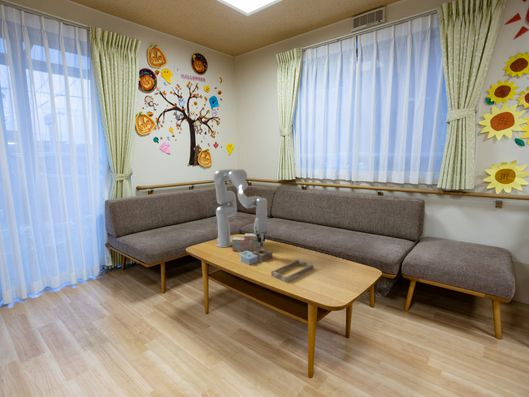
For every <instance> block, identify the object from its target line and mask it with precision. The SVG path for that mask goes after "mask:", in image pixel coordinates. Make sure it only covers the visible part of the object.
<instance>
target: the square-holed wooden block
mask: <svg viewBox="0 0 529 397" xmlns="http://www.w3.org/2000/svg"><path fill="white" fill-rule="evenodd" d="M251 252H252V254H254V255H257V256H258V261H261V262H264V261H266V260H267V261H268V260H269V259H272V258H273V251H270V250H268V249H264V248H261V249H260V250H257V251H254V252H253V251H251Z"/></svg>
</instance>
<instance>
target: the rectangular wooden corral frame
mask: <svg viewBox="0 0 529 397" xmlns="http://www.w3.org/2000/svg"><path fill="white" fill-rule="evenodd" d="M296 266H301V267H303V268H302V269H300V270H298V271H295V272H293V273H292V274H290V275H288V276H286V275H283V274H282V273H283V272H286V271H288V270H290V269H292V268H294V267H296ZM312 269H313V270H314V264H311V263H310V262H309V263H308V262H306V261H303V260H299V259H296V260H294V261H292V262H290V263H287V264H285V265H282V266H281V267H279V268H275V269H274V270H271V275H270V276H271V277H273V278H276V279H277V280H280V281H281V282H284V283H289V282H291V281H294V280H295V279H297V278H299V277H302V276H303V275H305V274H307V273H309V272H310V270H311V271H312ZM308 271H309V272H308ZM306 272H307V273H306Z"/></svg>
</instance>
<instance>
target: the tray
mask: <svg viewBox="0 0 529 397" xmlns="http://www.w3.org/2000/svg"><path fill="white" fill-rule="evenodd" d="M252 252H253V251H240V252H239V253H238V254H237V255H238V257H240V258H241V256H242V255H245V254H248V253H252Z"/></svg>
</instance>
